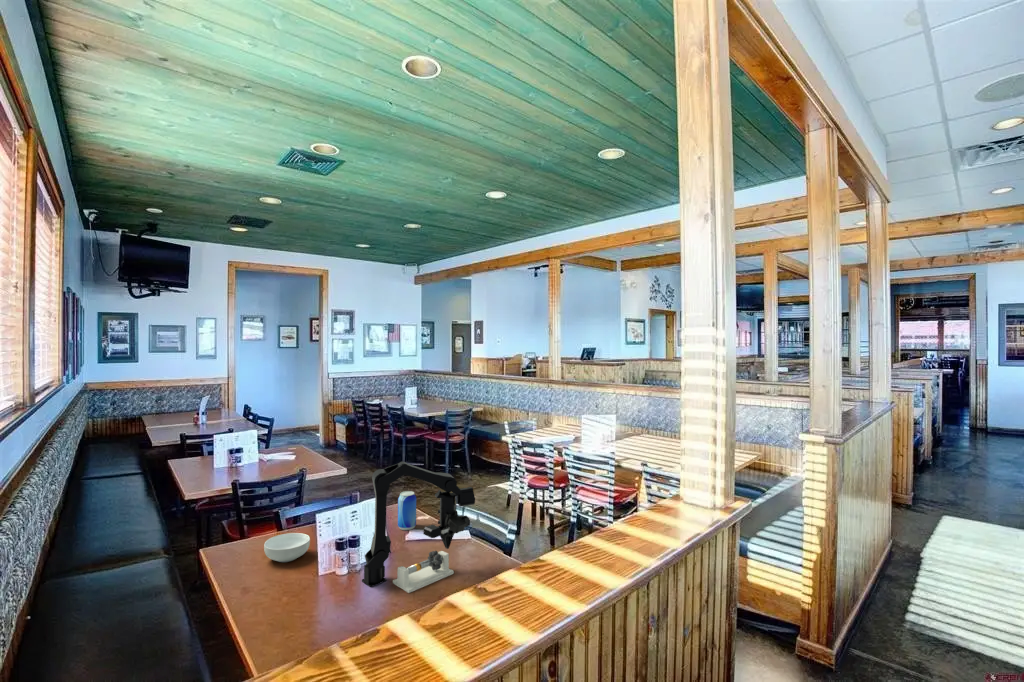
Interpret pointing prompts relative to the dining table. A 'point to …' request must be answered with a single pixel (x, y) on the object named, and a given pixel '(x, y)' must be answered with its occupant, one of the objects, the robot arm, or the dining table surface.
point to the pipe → (422, 565)
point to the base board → (422, 575)
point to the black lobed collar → (437, 557)
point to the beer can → (407, 510)
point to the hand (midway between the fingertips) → (447, 548)
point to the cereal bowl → (286, 546)
